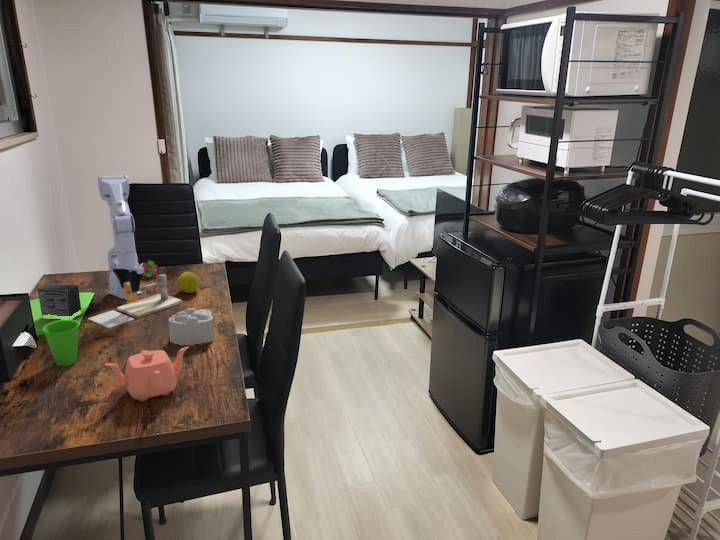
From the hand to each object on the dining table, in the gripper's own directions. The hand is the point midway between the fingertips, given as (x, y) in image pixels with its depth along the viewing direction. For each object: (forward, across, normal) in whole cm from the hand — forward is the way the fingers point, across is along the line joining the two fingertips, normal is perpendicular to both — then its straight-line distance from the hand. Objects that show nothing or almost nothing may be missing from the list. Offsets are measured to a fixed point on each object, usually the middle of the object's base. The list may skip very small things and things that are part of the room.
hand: (130, 289), depth 178 cm
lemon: (+9, -1, +25) cm, 26 cm away
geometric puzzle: (+8, -28, +27) cm, 40 cm away
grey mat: (+8, 0, -8) cm, 12 cm away
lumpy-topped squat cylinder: (+9, +32, -1) cm, 33 cm away
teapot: (+9, +50, -28) cm, 58 cm away
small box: (+9, -15, -16) cm, 24 cm away
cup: (+9, +17, -32) cm, 37 cm away
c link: (+4, 0, 0) cm, 4 cm away
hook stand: (+8, 0, +7) cm, 11 cm away
